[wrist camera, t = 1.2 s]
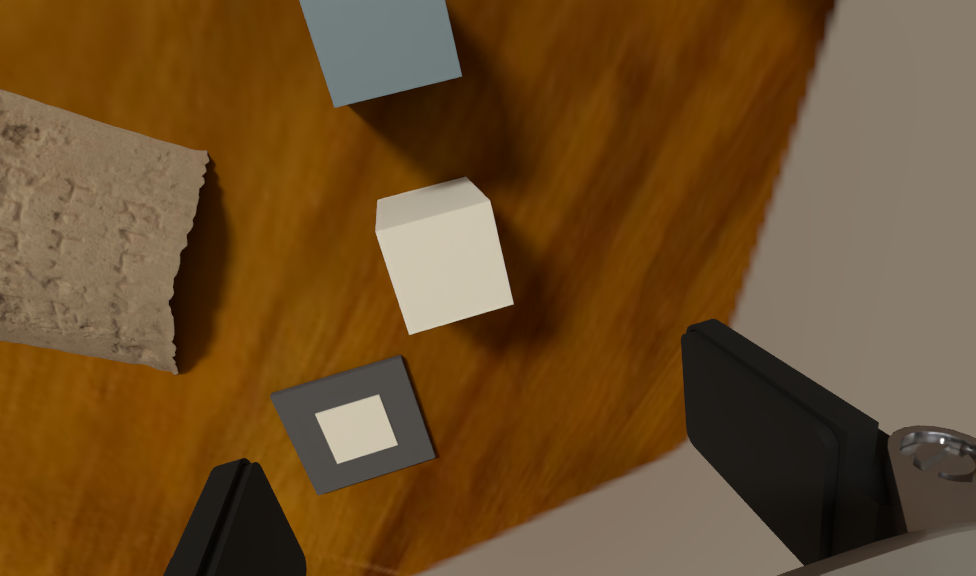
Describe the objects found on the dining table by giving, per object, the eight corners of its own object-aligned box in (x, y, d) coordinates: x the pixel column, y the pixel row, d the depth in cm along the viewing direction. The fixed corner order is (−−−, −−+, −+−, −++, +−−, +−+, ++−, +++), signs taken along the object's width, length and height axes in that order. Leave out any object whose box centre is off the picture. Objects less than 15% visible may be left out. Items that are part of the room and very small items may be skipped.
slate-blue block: (416, -30, 24) (427, -77, 17) (442, 81, 26) (462, 76, 19) (311, -7, 23) (284, -46, 17) (347, 104, 25) (334, 107, 19)
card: (401, 354, 31) (401, 358, 30) (434, 453, 34) (435, 458, 33) (271, 393, 30) (269, 397, 29) (318, 490, 33) (317, 496, 33)
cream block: (465, 176, 28) (490, 200, 21) (485, 259, 30) (513, 304, 23) (377, 200, 27) (375, 231, 21) (403, 282, 29) (409, 334, 23)
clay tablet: (185, 377, 29) (166, 403, 27) (-26, 346, 26) (-69, 371, 24) (219, 130, 25) (201, 134, 22) (-27, 62, 22) (-79, 57, 20)
